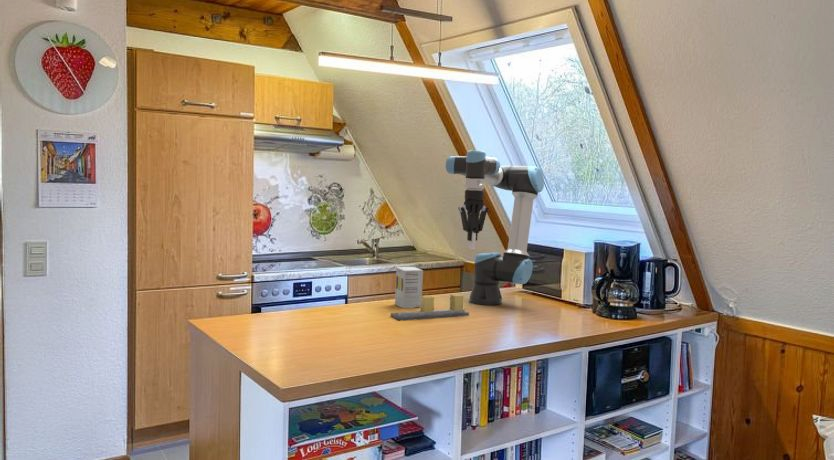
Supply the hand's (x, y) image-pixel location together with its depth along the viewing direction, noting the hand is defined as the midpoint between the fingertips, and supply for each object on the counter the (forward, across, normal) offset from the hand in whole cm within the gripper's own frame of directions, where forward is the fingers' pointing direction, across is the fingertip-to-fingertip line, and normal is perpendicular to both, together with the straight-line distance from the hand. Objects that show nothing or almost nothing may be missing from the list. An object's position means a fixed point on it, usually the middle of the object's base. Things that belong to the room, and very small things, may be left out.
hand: (471, 248), depth 252 cm
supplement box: (+30, -11, +34) cm, 46 cm away
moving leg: (+28, -13, +13) cm, 34 cm away
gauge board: (+29, -10, +14) cm, 34 cm away
